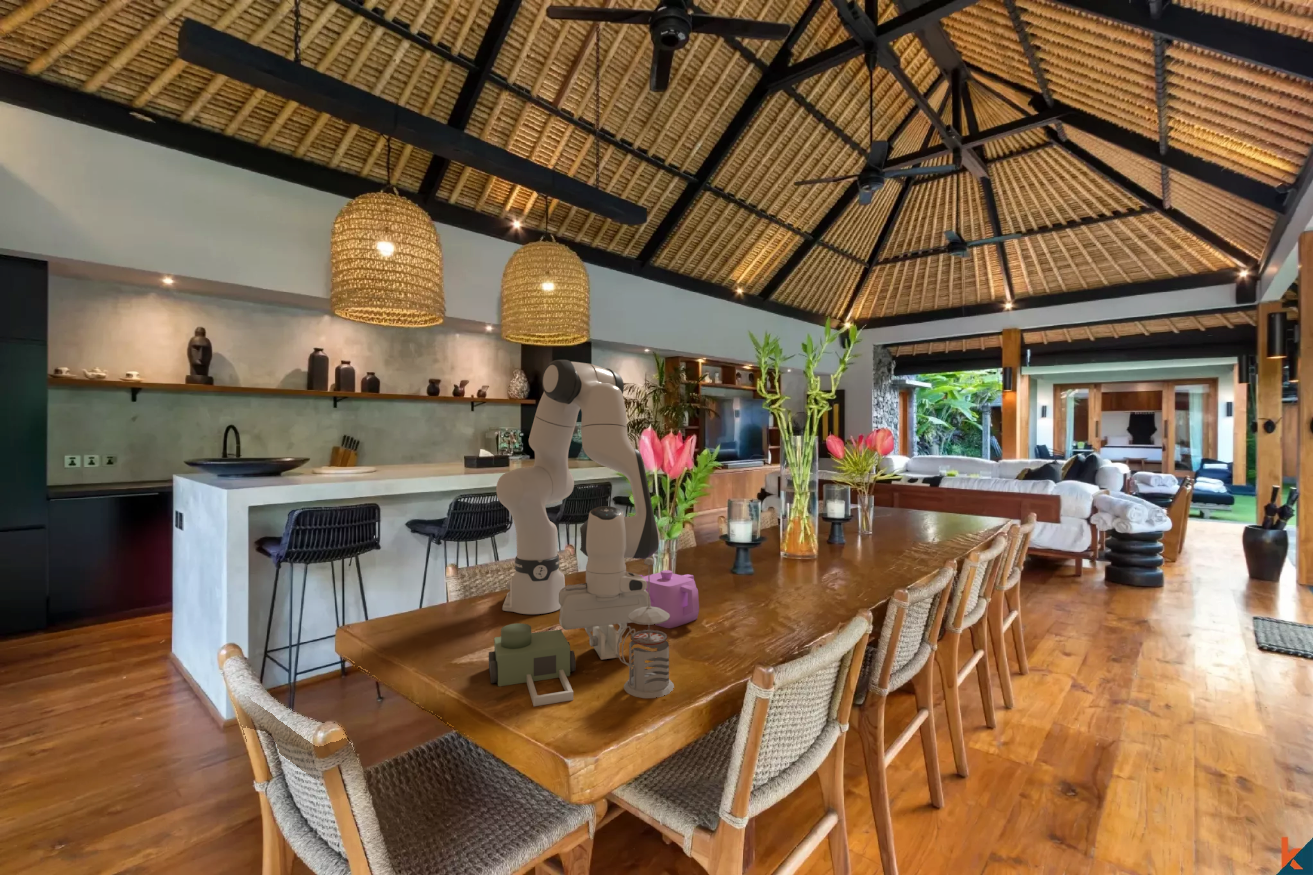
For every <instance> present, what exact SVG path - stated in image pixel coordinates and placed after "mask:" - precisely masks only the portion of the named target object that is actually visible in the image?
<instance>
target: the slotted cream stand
mask: <svg viewBox="0 0 1313 875" xmlns="http://www.w3.org/2000/svg"><path fill="white" fill-rule="evenodd" d="M614 626H615V625H614V624H613V625H605V626H596V627H593V631H592V636H597V638H598V642H597V643H598V646H592V647H593V648H594V650H595V652H596V654H597V655H598V657H599V659H600V660H607V659H615V658H619V657H618V653H617V643H618V639H619V633H618V629H617V628H615V627H614ZM618 646H619V647H620V644H619V645H618Z"/></svg>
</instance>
